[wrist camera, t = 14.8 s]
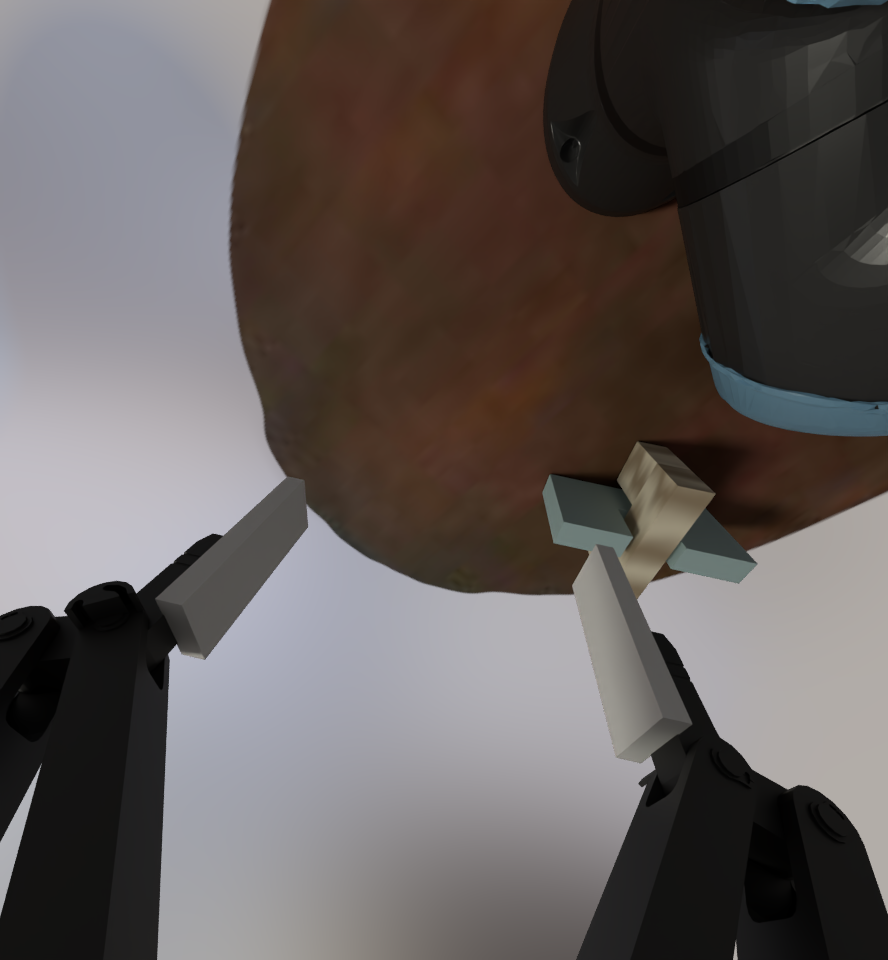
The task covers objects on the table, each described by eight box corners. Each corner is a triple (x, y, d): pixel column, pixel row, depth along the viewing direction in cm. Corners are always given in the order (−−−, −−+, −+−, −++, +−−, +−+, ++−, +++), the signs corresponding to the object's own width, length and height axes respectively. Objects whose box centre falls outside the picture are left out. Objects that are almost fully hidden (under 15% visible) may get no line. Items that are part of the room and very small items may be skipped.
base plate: (542, 492, 44) (553, 542, 35) (549, 473, 42) (563, 521, 34) (690, 524, 43) (738, 583, 35) (704, 506, 41) (757, 564, 33)
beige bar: (637, 441, 38) (677, 485, 30) (666, 447, 38) (715, 493, 30) (584, 540, 47) (604, 597, 38) (608, 545, 47) (633, 603, 38)
